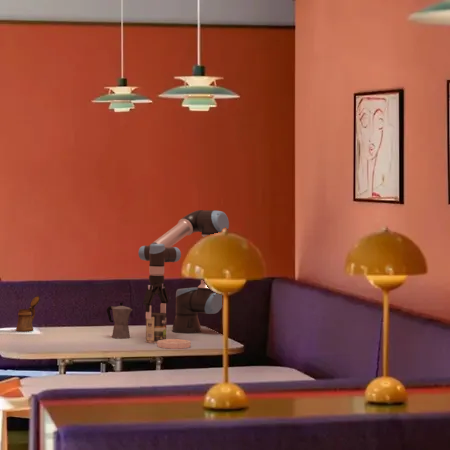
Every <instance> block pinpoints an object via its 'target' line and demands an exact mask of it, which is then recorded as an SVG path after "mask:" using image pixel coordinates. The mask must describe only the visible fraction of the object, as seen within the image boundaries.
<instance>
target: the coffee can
mask: <svg viewBox="0 0 450 450" xmlns="http://www.w3.org/2000/svg"><path fill="white" fill-rule="evenodd" d="M164 339H167V312H166V313H160V312H151V319H146V318H145V342H146V343H150V344H157V341H158V340H164Z"/></svg>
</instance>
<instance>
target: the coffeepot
mask: <svg viewBox="0 0 450 450" xmlns="http://www.w3.org/2000/svg"><path fill="white" fill-rule="evenodd" d="M111 311H112V315H111ZM131 312H133V308H131V307H128V306H125V305H124V302H122V301H120V302H119V305H118V306H112V305H109V306H108V307H107V308H106V313H107V317H108V321H109V322H110V323H114V325H113V328H112V329H113V330H112V335H111V338H113V339H117V340H118V339H119V340H121V339H122V340H123V339H130V338H131V336H130V335H131V334H130V327H129V323H128V322H129V320H130V314H131ZM112 318H113V320H112Z"/></svg>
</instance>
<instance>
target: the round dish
mask: <svg viewBox="0 0 450 450" xmlns="http://www.w3.org/2000/svg"><path fill="white" fill-rule="evenodd" d="M191 343H192V341H191V340H188V339H179V338H177V339H176V338H169V339H168V338H166V339H164V340H158V341H157V343H156V344H157V348H160V349H170V350H171V349H173V350H174V349H177V350H179V349H180V350H181V349H188V348H191Z"/></svg>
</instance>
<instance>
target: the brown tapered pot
mask: <svg viewBox="0 0 450 450" xmlns="http://www.w3.org/2000/svg"><path fill="white" fill-rule="evenodd" d="M39 303H40V295H37V296H35V297H34V298H32V300H31V302H30V306H29V307H28V308H21V309H20V308H19V309H18V313H17V315H18V317H17V324H16V328H15V331H16V332H20V333H21V332H23V333H27V332H28V333H29V332H33V331H34V326H33V321H34V318H35V316H36V310H35V307H37V305H38V304H39Z"/></svg>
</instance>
